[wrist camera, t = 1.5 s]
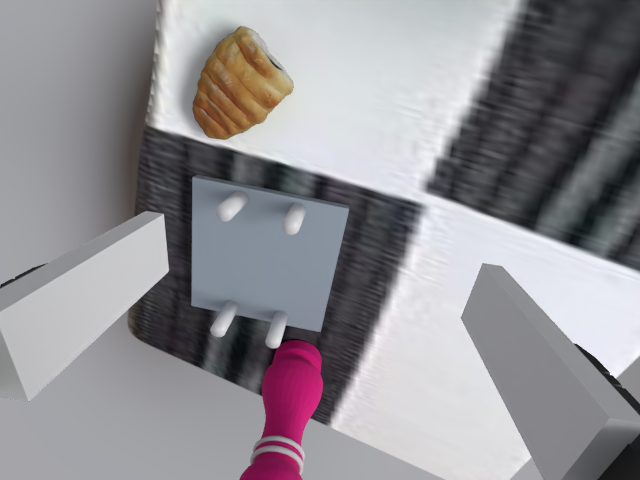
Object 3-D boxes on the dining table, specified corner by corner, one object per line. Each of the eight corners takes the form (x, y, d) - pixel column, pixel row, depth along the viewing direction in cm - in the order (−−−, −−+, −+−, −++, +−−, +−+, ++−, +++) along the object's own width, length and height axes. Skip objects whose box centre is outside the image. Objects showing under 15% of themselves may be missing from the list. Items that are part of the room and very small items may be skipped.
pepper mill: (324, 337, 39) (303, 540, 21) (326, 378, 42) (308, 589, 24) (269, 335, 40) (201, 530, 22) (274, 376, 43) (218, 578, 25)
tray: (197, 174, 32) (168, 188, 27) (349, 205, 32) (349, 225, 27) (196, 299, 39) (172, 330, 33) (321, 325, 38) (316, 360, 33)
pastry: (234, 155, 31) (220, 161, 28) (182, 101, 29) (159, 100, 26) (301, 84, 28) (294, 81, 24) (246, 19, 26) (231, 6, 23)
